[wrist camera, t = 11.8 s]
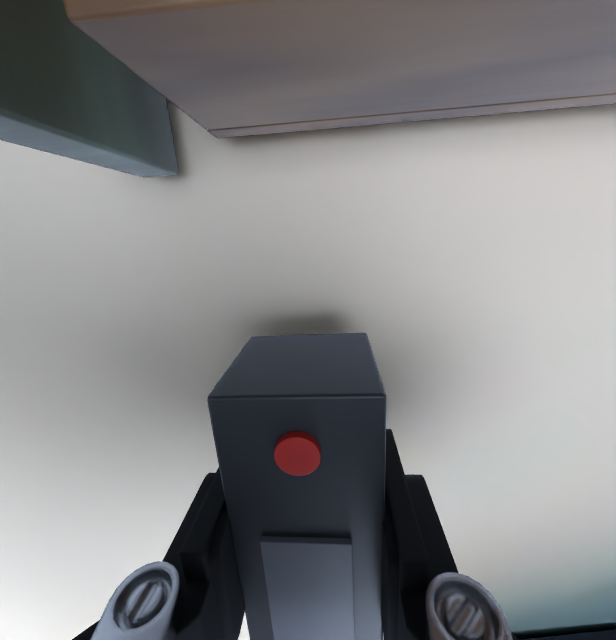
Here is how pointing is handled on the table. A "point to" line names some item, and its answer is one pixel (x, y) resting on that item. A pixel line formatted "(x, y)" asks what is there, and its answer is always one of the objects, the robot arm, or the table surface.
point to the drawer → (284, 67)
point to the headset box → (583, 636)
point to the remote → (305, 484)
